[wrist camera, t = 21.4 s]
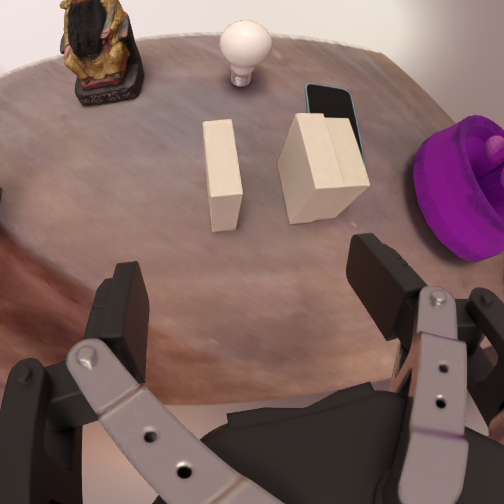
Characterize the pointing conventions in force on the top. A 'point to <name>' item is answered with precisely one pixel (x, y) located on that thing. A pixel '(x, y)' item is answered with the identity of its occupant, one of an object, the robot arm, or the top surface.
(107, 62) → the statue
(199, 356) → the top surface
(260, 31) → the lightbulb
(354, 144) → the white books
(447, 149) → the decorative plant
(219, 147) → the white book
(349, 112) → the smartphone
